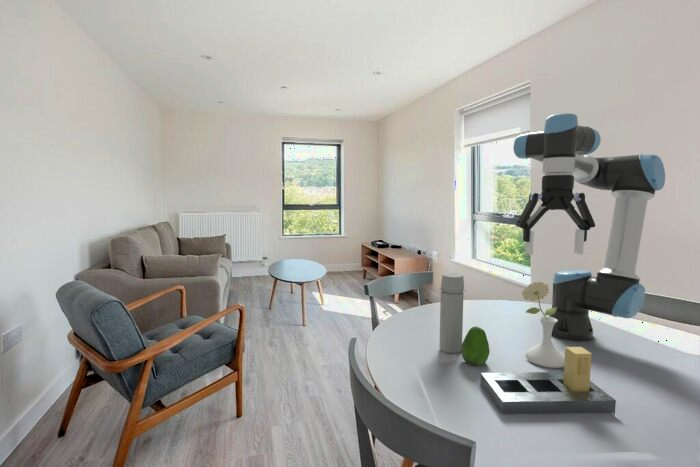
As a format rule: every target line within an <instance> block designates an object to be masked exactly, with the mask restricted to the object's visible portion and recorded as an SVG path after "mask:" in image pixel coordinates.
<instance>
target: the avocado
mask: <svg viewBox="0 0 700 467" xmlns="http://www.w3.org/2000/svg"><path fill="white" fill-rule="evenodd" d="M460 352H461V357H462V360H463V361H464V362H465V363H466V364H468V365H470V366H473V367H480V366H483V365H484V364H486V363H487V360H489V356H490V352H491V351H490V344H489V340H488V338H487V334H486V331H485V330H484V329H483V328H481V327H479V326H472V327H470V329H469V330H468V331H467V333H466V334H465V337H464V339H463V340H462V348H461V351H460Z"/></svg>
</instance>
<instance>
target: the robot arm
mask: <svg viewBox="0 0 700 467" xmlns="http://www.w3.org/2000/svg"><path fill="white" fill-rule="evenodd" d="M544 121H545V122H544V130H543V131H536V132H527V133H524V134H520V135H517V137H516V138H515V139H514V142H513V145H512V146H513V153H514V155H515V157H517V158H518V159H522V160H523V159H525V160H527V159H533V160H536V161H538V162H540V163H542V174H544V175H543V176H542V177H541V193H537V192H531V193H529V195H528V201H527V203H526V205H525V207H524V209H523V211H522V213H521V215H519V218H518V220H517V222H516V225H515V226H516V227H517V228H520V229H522V241H523V242H525V248H524V249H525V250H524V251H525V252H524V253H525V254H528V255H532V256H533V255H534V254H533V253H534V237H535V235H534V234H535V233H534V232H535V230H534V229H532V228H533V227H534V226H535V225H536V224H537V223H538V221H540V220H541V218H542V217H543V216H544V215H545V214H546V213H547V212H548V211H549V210H550V211H557V210H558V211H559V210H560V211H564V212H566V213H567V215H568V216H569V217H570V218H571V220H572V222H574V224H575V225H576V226H577V229H575V233H574V234H575V235H574V249H573V250H574V252H573V253H574V254H578V255H584V246H585V245H584V244H585V242H587V240H588V239H587V237H588V231H590V230H591V228H595V227H596V223H595V220H594V218H593V216H592V213H591V212H590V209H589V207H588V205H587V202H586V193H585V192H576V193H574V192H573V190H574V186H575V185H574V184H575V182H576V183H578V184H581V185H583V186H585V187H589V188H591V189H596V190H600V191H601V190H602V191H611V195H612V196H613V198H615V202H614V203H615V204H614V208H613V214H612V219H611V226H610V229H609V230H610V231H609V236H608V242H607V248H606V253H605V259H604V264H603V267H602V269H600V270H598V271H597V273H596V276H593V274H592V272H591V271H590V270H585V269H580V270H579V269H574V270H573V269H571V270H569V269H567V270H560V271H557V272H555V273H554V275H553V278H552V280H553V281H552V294H551V295H552V298H551V308H555V307H557V310H556V312H555V313H554V314H552V315H548V317H552V318H555V319H557V320H558V321H557V322H556V323H555V325H554V327H553V330H552V336H553V337H556V338H559V339H563V340H568V341H569V340H570V341H575V342H576V341H577V342H578V341H579V342H581V341H584V342H585V341H589V340H592V339H594V329H593V326H592V323H591V319H590V316H589V314H590V312H589V311H592V312H596V313H599V314H603V315H604V314H605V315H609V316H612V317H614V318H623V319H631V318H634V317H635V316H636V315H637V314H638V313H639V311H640V310H641V309H642V306H643V304H644V302H645V298H646V288H645V286H644V285H643V284H641V283H640V279H641V278H639V276H638V275H637V274H636V268H637V264H638V263H637V262H638V257H639V251H640V246H641V240H642V236H643V235H642V234H643V230H644V223H645V218H646V213H647V211H646V210H647V206H648V201H650V200H651V199H653V198H655V193H656V191H661V190H662V189H664V187H665V183H666V172H665V170H666V169H665V167H664V166H665V165H664V162H663V160H662V158H661V157H659V156H658V155H657V154H642V153H641V154H633V155H622V156H621V155H620V156H604V157H593V156H591V155H589V154H593V153H594V152H595V151H596V150H597V149H598V148H599V146H600V143H601V135H600V133H599V131H597V129H595V128H592V127H590V126H587V125H586V126H584V125H579V122H578V116H577V115H576V114H575V113H571V112H570V113H566V112H565V113H559V114H557V113H556V114H552V115H549V116H548V117H546V118H545V120H544ZM540 201H541V202H542V203H541V204H540V205H539V206H538V207H537V209H536V210H535V212H533V211H534V209H535V208H536V206H537V204H538V202H540ZM573 201H574V203H575V205H576V207H577V209H578V211H577V210H576V209H575V208H576V207H575V206H574V205H573V204H572V202H573ZM578 212H579V213H578ZM532 213H533V214H532Z"/></svg>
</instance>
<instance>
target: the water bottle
mask: <svg viewBox="0 0 700 467" xmlns="http://www.w3.org/2000/svg"><path fill="white" fill-rule="evenodd" d="M464 282H465V280H464V275H463V274H461V273H458V272H457V273H455V272H445V273H443V274H442V275H441V283H440V288H439V290H440V301H439V302H440V303H439V304H440V306H439V310H440V311H439V312H440V314H439V349H440V350H441V351H442V352H444V353H446V354H451V355H453V354H457V353H458V354H459V353H460V352H461V348H462V343H463V330H464V329H463V326H464V325H463V324H464V320H463V318H464V292H465V291H466V290H465V283H464Z"/></svg>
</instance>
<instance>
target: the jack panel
mask: <svg viewBox="0 0 700 467" xmlns="http://www.w3.org/2000/svg"><path fill="white" fill-rule="evenodd" d="M563 380H564V371H540V372H539V371H536V372H535V371H533V372H532V371H531V372H530V371H529V372H528V371H526V372H524V371H523V372H519V371H518V372H517V371H516V372H515V371H514V372H480V385H481V387H482V388H483V390H484V391H485V392H486V394H487V395H488V397H489V398H490V400H492V402H493V404H494V405H495V406H496V408H497V409H498V410H499V412H500V413H501V414H502V415H557V414H558V415H562V414H563V415H567V414H568V415H570V414H571V415H572V414H611V415H613V417H616V416H615V415H616V404H617V400H616V399H615V398H613V397H612V396H611V395H609V394H608V393H607V392H606V391H604V390H603V389H602V388H600V387H599V386H598V385H596V384H595V383H594V382H592V380H590V386H589V392H571V391H569V390H568V389H567V388H566V387H565V386H564V385H563Z"/></svg>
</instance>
